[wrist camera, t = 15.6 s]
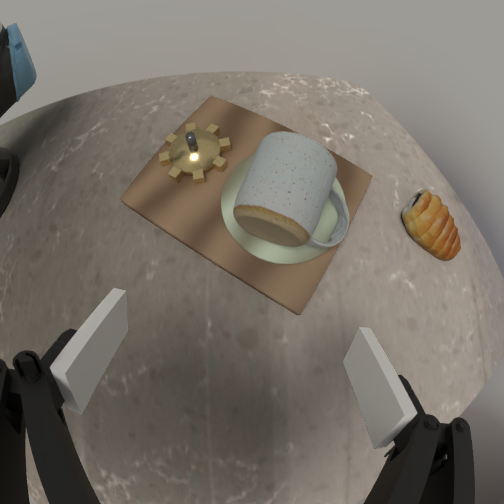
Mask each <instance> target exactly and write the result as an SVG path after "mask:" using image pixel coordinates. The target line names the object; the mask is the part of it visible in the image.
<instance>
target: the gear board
mask: <svg viewBox="0 0 504 504" xmlns="http://www.w3.org/2000/svg"><path fill="white" fill-rule="evenodd" d="M194 122H195V125H196V129H204V130H206V129H207V127H208V126H209V125H210V124H211V123H212V124H214V125H216V126H219V130H220V133H219V135H218V136H217V138H218V139H223V138H228V137H229V141H230V145H231V151H228V152H223V153H221V157H222V158H224V159H226V160H227V167H226V168H225V169H224V171H223V172H222V173H221V172H219V171H217V170H215V169H212V170H210V171H209V172H207V173H205V174H204V177H205V182H206V183H203V184H198V185H195V182H194V179H193V176H186V175H184V176H183V177H182V179H181V180H180V181H179V182H178V183H177V182H175V181H173V180H172V179H170V177H169V175H168V173H169V171H170V170H171V169H172V168H173V165H168V166H164V167H162V165H161V163H160V159H159V154H160V153H164V152H167V151H169V148H170V146H168V145H167V144H166V143H165V144H164V145H163V146H162V147H161V148H160V149H159V150H158V152H157V153H156V154H155V155H154V156H153V157H152V159H151V160H150V161H149V162H148V163H147V165H146V166H145V167H144V168H143V170H142V171H141V172H140V173H139V175H138V176H137V177H136V178H135V180H134V181H133V182H132V183H131V185H130V186H129V187H128V189H127V190H126V191H125V193H124V194H123V195H122V197H121V198H120V200H121V201H122V202H123V203H124V204H125V205H126V206H128V207H129V208H131V209H132V210H134V211H135V212H137V213H138V214H140V215H141V216H143V217H144V218H146V219H147V220H148V221H150V222H151V223H153V224H154V225H156V226H157V227H159V228H160V229H162V230H163V231H165V232H166V233H168V234H169V235H171V236H172V237H174V238H175V239H177V240H179V241H180V242H182V243H183V244H185V245H186V246H188V247H189V248H191V249H192V250H194V251H195V252H197V253H198V254H200V255H202V256H203V257H205V258H206V259H208V260H209V261H211V262H212V263H214V264H216V265H217V266H219V267H220V268H222V269H223V270H225V271H227V272H228V273H230V274H231V275H233V276H234V277H236V278H238V279H239V280H241V281H242V282H244V283H246V284H247V285H249V286H250V287H252V288H254V289H255V290H257V291H259V292H260V293H262V294H263V295H265V296H267V297H268V298H270V299H272V300H273V301H275V302H276V303H278V304H280V305H281V306H283V307H285V308H286V309H288V310H290V311H291V312H293V313H295V314H296V315H300V314H301V313H302V311H303V309H304V307H305V306H306V304H307V302H308V301H309V299H310V297H311V295H312V294H313V292H314V290H315V288H316V287H317V285H318V283H319V281H320V280H321V278H322V276H323V274H324V272H325V271H326V269H327V267H328V265H329V263H330V261H331V259H332V258H333V256H334V254H335V252H336V250H337V248H338V246H339V244H340V243H338V244H336V245H335V246H332V247H327V248H317V247H313V246H310V245H308V244H307V243H306V244H304V245H302V246H299V247H288V246H282V245H278V244H275V243H271V242H269V241H266V240H264V239H261V238H259V237H257V236H255V235H253V234H251V233H250V232H248V231H246V230H245V229H244V228H242V227H241V226H240V225H239V224H238V223H237V222H236V220H235V218H234V215H233V208H234V204H235V200H236V196H237V194H238V191H239V189H240V187H241V185H242V183H243V181H244V178H245V176H246V173H247V171H248V168H249V166H250V164H251V162H252V160H253V157H254V155H255V153H256V151H257V148H258V146H259V144H260V142H261V140H262V139H263V138H264V137H265V136H267V135H269V134H271V133H274V132H281V131H285V132H293V133H297V132H295V131H293V130H291V129H289V128H287V127H284V126H282V125H280V124H278V123H276V122H274V121H272V120H270V119H267V118H265V117H263V116H261V115H258V114H256V113H254V112H252V111H249V110H247V109H244V108H242V107H240V106H237V105H235V104H232V103H230V102H227V101H225V100H222V99H219V98H217V97H214V96H210V97H209V98H208V99H207V100H206V101H205V102H204V103H203V104H202V105H201V106H200V107H199V108H198V109H197V110H196V111H195V112H194V113H193V114H192V115H191V116H190V117H189V118H188V119H187V120H186V121H185V122H184V123H183V124H182V125H181V126H180V127H179V128H178V129H177V130H176V132H175V133H174V135H176V136H179V135H180V134H182V133H184V132H186V124H189V123H194ZM297 134H299V133H297ZM326 149H327V148H326ZM327 150H328V151H329V152H330V153H331V155H332V156H333V157H334V159H335V161H336V164H337V174H336V178H335V181H334V183H333V185H332V186H333V187H334V188H335V189H336V190H337V191H338V192H339V193H340V195H341V196H342V197H343V199H344V201H345V203H346V205H347V207H348V211H349V218H350V219H349V225H350V223H351V221H352V219H353V217H354V215H355V213H356V211H357V208H358V206H359V204H360V202H361V200H362V198H363V196H364V194H365V192H366V189H367V187H368V185H369V183H370V181H371V179H372V175H370V174H369V173H367V172H366V171H364V170H362V169H361V168H359V167H358V166H356V165H354V164H353V163H351V162H349V161H348V160H346V159H344V158H343V157H341V156H339V155H337V154H336V153H334V152H332V151H330V150H329V149H327ZM337 223H338V213H337V209H336V207H335V205H334V203H333V202H332V200H331V199H330V198H329V197H328V198H327V201H326V203H325V205H324V208H323V210H322V213H321V217H320V220H319V222H318V225H317V227H316V229H315V231H314V233H313V235H312V236H311V237H312V238H314V239H316V240H318V241H321V242H323V243H325V242H328V241H329V239H330V235H332V234H333V232H334V230H335V228H336V225H337Z"/></svg>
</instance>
